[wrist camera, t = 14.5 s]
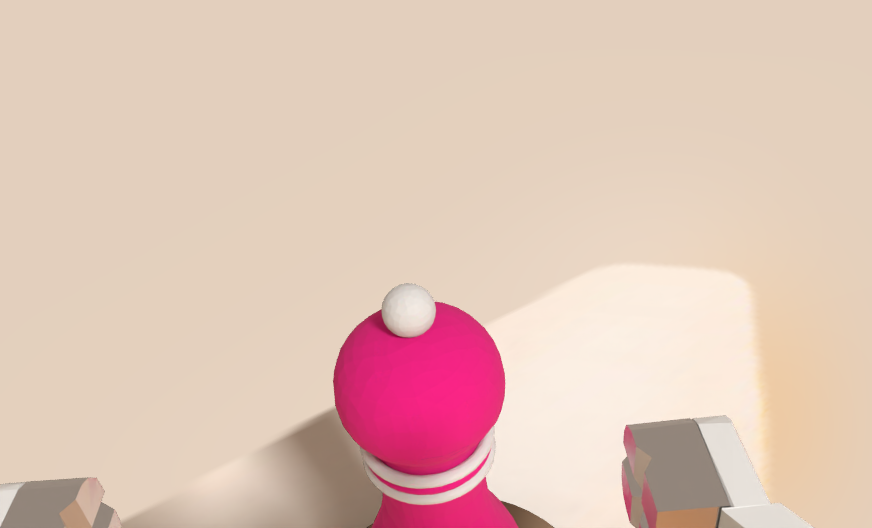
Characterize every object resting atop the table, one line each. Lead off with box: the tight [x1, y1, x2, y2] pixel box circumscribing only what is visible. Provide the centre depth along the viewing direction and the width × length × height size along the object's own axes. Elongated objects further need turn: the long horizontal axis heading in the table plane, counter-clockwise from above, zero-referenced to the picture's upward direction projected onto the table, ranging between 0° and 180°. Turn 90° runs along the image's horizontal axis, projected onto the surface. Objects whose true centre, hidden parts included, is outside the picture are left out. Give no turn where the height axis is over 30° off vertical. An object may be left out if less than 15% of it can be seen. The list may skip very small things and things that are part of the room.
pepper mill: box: [333, 283, 519, 528], centre depth 31 cm, size 7×7×20 cm
